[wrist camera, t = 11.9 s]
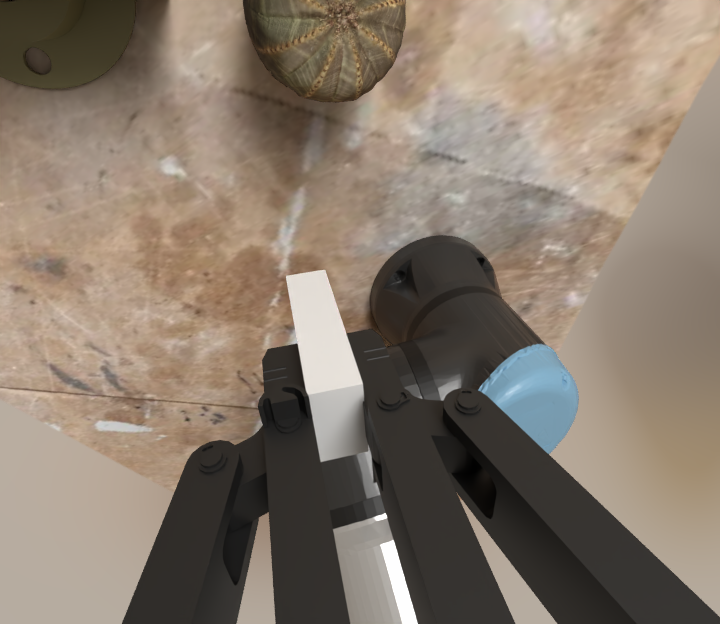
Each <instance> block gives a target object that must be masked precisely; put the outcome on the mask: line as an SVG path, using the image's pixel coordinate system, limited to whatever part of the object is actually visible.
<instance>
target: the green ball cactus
mask: <svg viewBox="0 0 720 624" xmlns="http://www.w3.org/2000/svg"><path fill="white" fill-rule="evenodd" d="M405 4H406V0H243V6H244V14H245V20H246V25H247V28H248V32H249V35H250V38H251V40H252V43H253V45H254V47H255V49H256V51H257V53H258V55H259V57H260V59H261V61H262V62H263V64H264V65H265V67H266V68H267V70H269V71H271V74H272V76H273V77H275V79H277V80H279V81H280V82H281V83H283V84H284V85H285V86H286V87H289V88H290V89H292V90H294V91H295V92H296V93H297V94H298V95H299V96H301V97H304V98H307V99H312V100H317V101H320V102H335V103H336V102H344V101H354V100H356V99H358V98H359V97H360V96H362V95H363V94H365V93H367V92H369V91H370V90H372V89H373V87H374V86H375V84H376V83H377V82H379V81H380V80H381V79H383V77H384V76H385V75H386V74H387V72H388V71H389V69H390V68H391V67H392V66H393V64H394V62H395V60H396V57H397V53H398V51H399V49H400V46H401V43H402V38H403V32H404V29H405V24H406V15H405Z"/></svg>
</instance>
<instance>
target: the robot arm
mask: <svg viewBox="0 0 720 624" xmlns="http://www.w3.org/2000/svg"><path fill="white" fill-rule="evenodd" d="M286 280H287V285H288V291H289V297H290V302H291V308H292V314H293V320H294V325H295V331H296V337H297V342H298V344H293V345H287V346H282V347H277V348H271V349H268V350H267V352H266V354H265V356H264V358H263V360H262V364H263V380H264V394H263V395H262V397H261V398H260V399H259V404H258V409H259V413H260V416H261V420H262V424H263V426H262V427H261V428H260V430H259V431H258V432H257V433H256V434H254V435H253V436H252V437H250V438H249V439H247V440H245V441H243V442H241V443H239V444H237V445H234V444H232V443H230V442H229V441H222V440H218V441H213V442H209V443H207V444H205V445H202V446H200V447H199V448H198V449H197V450H196V451H194V452H193V453H192V454H191V456H190V458H189V459H188V461H187V463H186V465H185V468H184V470H183V473H182V475H181V478H180V480H179V483H178V485H177V488H176V490H175V492H174V495H173V497H172V500H171V503H170V505H169V507H168V510H167V513H166V515H165V518H164V520H163V522H162V525H161V528H160V530H159V533H158V535H157V537H156V540H155V542H154V545H153V548H152V550H151V552H150V555H149V557H148V560H147V562H146V565H145V567H144V570H143V572H142V575H141V578H140V580H139V582H138V585H137V588H136V590H135V592H134V595H133V597H132V600H131V602H130V605H129V607H128V610H127V612H126V615H125V617H124V620H123V622H122V624H236V623H237V618H238V613H239V609H240V604H241V600H242V595H243V590H244V586H245V581H246V576H247V572H248V567H249V563H250V558H251V553H252V548H253V544H254V540H255V534H256V530H257V525H258V521H259V517H260V516H262V515H264V514H266V513H267V512H269V522H270V539H271V555H272V571H273V587H274V604H275V618H276V619H275V620H276V624H515V622H514V620H513V618H512V615H511V613H510V611H509V609H508V606H507V604H506V602H505V600H504V597H503V595H502V593H501V591H500V589H499V586H498V584H497V582H496V580H495V577H494V575H493V573H492V571H491V568H490V566H489V564H488V562H487V560H486V557H485V555H484V553H483V551H482V549H481V546H480V544H479V542H478V540H477V537H476V535H475V533H474V531H473V528H472V526H471V524H470V522H469V519H468V517H467V515H466V513H465V511H464V508H463V506H462V504H461V502H460V499H459V497H458V495H459V496H460V497H461V499H462V500H463V501H464V502H465V504H466V505H467V506H468V508H469V509H470V510H471V512H472V513H473V514H474V516H475V517H476V518H477V519H478V521H479V522H480V523H481V525H482V526H483V527H484V528H485V530H486V531H487V532H488V534H489V535H490V536H491V538H492V539H493V540H494V542H495V543H496V544H497V546H498V547H499V548H500V549H501V551H502V552H503V553H504V554H505V556H506V557H507V558H508V560H509V561H510V562H511V564H512V565H513V566H514V567H515V569H516V570H517V571H518V573H519V574H520V575H521V577H522V578H523V579H524V581H525V582H526V583H527V585H528V586H529V587H530V588H531V590H532V591H533V592H534V594H535V595H536V596H537V597H538V599H539V600H540V601H541V603H542V604H543V605H544V607H545V608H546V609H547V611H548V612H549V613H550V614H551V616H552V617H553V618H554V620H555V621H556V622H557V624H720V617H719V616H718V615H717V614H716V613H715V612H714V611H713V610H712V609H711V608H709V607H708V606H707V605H706V604H705V603H704V602H703V601H702V600H701V599H700V598H699V597H698V596H697V595H696V594H695V593H694V592H693V591H692V590H691V589H689V588H688V587H687V586H686V585H685V584H684V583H683V582H682V581H681V580H680V579H679V578H678V577H677V576H676V575H675V574H674V573H673V572H672V571H671V570H670V569H669V568H667V567H666V566H665V565H664V564H663V563H662V562H661V561H660V560H659V559H658V558H657V557H656V556H655V555H654V554H653V553H652V552H650V550H649V549H647V548H646V547H645V546H644V545H643V544H642V543H641V542H640V541H639V540H638V539H637V538H636V537H635V536H634V535H633V534H632V533H631V532H630V531H629V530H628V529H627V528H625V527H624V526H623V525H622V524H621V523H620V522H619V521H618V520H617V519H616V518H615V517H614V516H613V515H612V514H611V513H610V512H609V511H608V510H606V509H605V508H604V507H603V506H602V505H601V504H600V503H599V502H598V501H597V500H596V499H595V498H594V497H593V496H592V495H591V494H590V493H589V492H588V491H587V490H586V489H584V488H583V487H582V486H581V485H580V484H579V483H578V482H577V481H576V480H575V479H574V478H573V477H572V476H571V475H570V474H569V473H567V472H566V470H564V469H563V468H562V467H561V466H560V465H559V464H558V463H557V462H556V461H555V460H554V459H553V458H552V457H551V456H550V455H549V453H551V452H552V451H553V450H554V449H555V448H556V446H557V445H558V443H559V442H560V441H561V440H562V439H563V438H564V437H565V435H566V434H567V432H568V431H569V429H570V427H571V425H572V423H573V421H574V419H575V416H576V413H577V409H578V400H579V396H578V389H577V386H576V383H575V381H574V379H573V377H572V376H571V374H570V373H569V372H568V370H567V369H566V368H565V367H564V365H563V364H562V363H561V361H560V360H559V359H558V356H557V354H556V353H555V352H554V350H553V349H552V348H550V347H548V346H547V345H546V344H545V343H544V342H543V341H542V340H541V339H540V338H539V337H538V336H537V335H536V334H535V333H534V331H533V330H532V329H531V328H530V327H529V326H528V325H527V324H526V323H525V322H524V321H523V320H522V319H521V318H520V317H519V316H518V315H517V313H516V312H515V311H514V310H513V309H512V308H511V307H510V306H509V305H508V304H507V303H506V302H505V301H504V300H503V299H502V297H501V293H500V289H499V286H498V282H497V279H496V275H495V272H494V269H493V267H492V265H491V264H490V262H489V261H488V259H487V258H486V257H485V256H484V255H483V254H482V253H481V252H480V251H479V250H478V249H477V248H476V247H475V246H474V245H472V244H471V243H469V242H468V241H466V240H464V239H461V238H458V237H453V236H443V235H442V236H431V237H427V238H423V239H420V240H417V241H415V242H413V243H410V244H409V245H407V246H405V247H403V248H402V249H400V250H399V251H398V252H396V253H395V254H394V255H393V256H392V257H391V258H390V259H389V260H388V261H387V262H386V263H385V264H384V266H383V267H382V269H381V270H380V272H379V273H378V275H377V277H376V279H375V281H374V284H373V287H372V291H371V310H372V314H373V317H374V319H375V322H376V324H377V326H378V328H379V330H380V332H381V333H382V335H383V336H384V337H385V338H386V339H387V341H389V342H390V343H391V344H392V345H391V346H388V347H385V344H384V342H383V340H382V337H381V336H380V335H378V334H377V333H376V332H375V331H373V330H372V329H369V330H363V331H358V332H352V333H347V334H346V331H345V328H344V325H343V322H342V319H341V316H340V313H339V310H338V307H337V304H336V301H335V298H334V295H333V292H332V289H331V286H330V283H329V280H328V277H327V274H326V271H325V270H320V271H314V272H307V273H301V274H295V275H289V276H286ZM456 492H457V493H458V495H457V493H456Z"/></svg>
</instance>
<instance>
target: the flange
mask: <svg viewBox="0 0 720 624" xmlns="http://www.w3.org/2000/svg"><path fill="white" fill-rule="evenodd" d="M135 14H136V0H14V1H10V2H7V1H2V0H0V77H2V78H5V79H7V80H10V81H13V82H16V83H19V84H23V85H27V86H31V87H37V88H46V89H61V88H70V87H75V86H79V85H82V84H85V83H87V82H90V81H92V80H94V79H96V78H98V77H99V76H101V75H103V74H104V73H105V72H107V71H108V70H109V69H110V68H111V67H112V66H113V65H114V64H115V63H116V62H117V61H118V60H119V58H120V57H121V55H122V54H123V52H124V51H125V49H126V47H127V45H128V42H129V40H130V37H131V34H132V31H133V27H134V22H135ZM31 47H35V48H39V49H41V50H42V51H44V52H45V53H46V54H47V55H48V57H49V58H50V60H51V70H50V72H49V73H47V74H39V73H37V72H35V71H34V70H32V69H31V68H30V67H29V65H28V64H27V61H26V52H27V50H28V49H29V48H31Z"/></svg>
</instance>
